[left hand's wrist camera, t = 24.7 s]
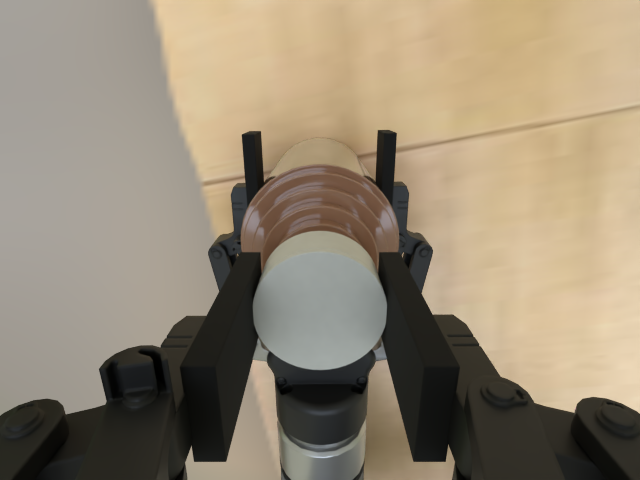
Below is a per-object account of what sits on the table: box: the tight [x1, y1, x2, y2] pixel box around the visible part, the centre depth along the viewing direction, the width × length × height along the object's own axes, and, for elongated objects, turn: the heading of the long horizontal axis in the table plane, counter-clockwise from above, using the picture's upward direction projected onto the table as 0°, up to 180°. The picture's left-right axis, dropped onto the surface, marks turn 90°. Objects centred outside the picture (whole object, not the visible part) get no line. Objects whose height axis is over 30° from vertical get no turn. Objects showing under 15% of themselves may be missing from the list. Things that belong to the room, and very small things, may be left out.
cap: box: [253, 231, 387, 370], centre depth 14 cm, size 4×4×2 cm
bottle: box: [241, 138, 399, 272], centre depth 22 cm, size 8×8×20 cm
